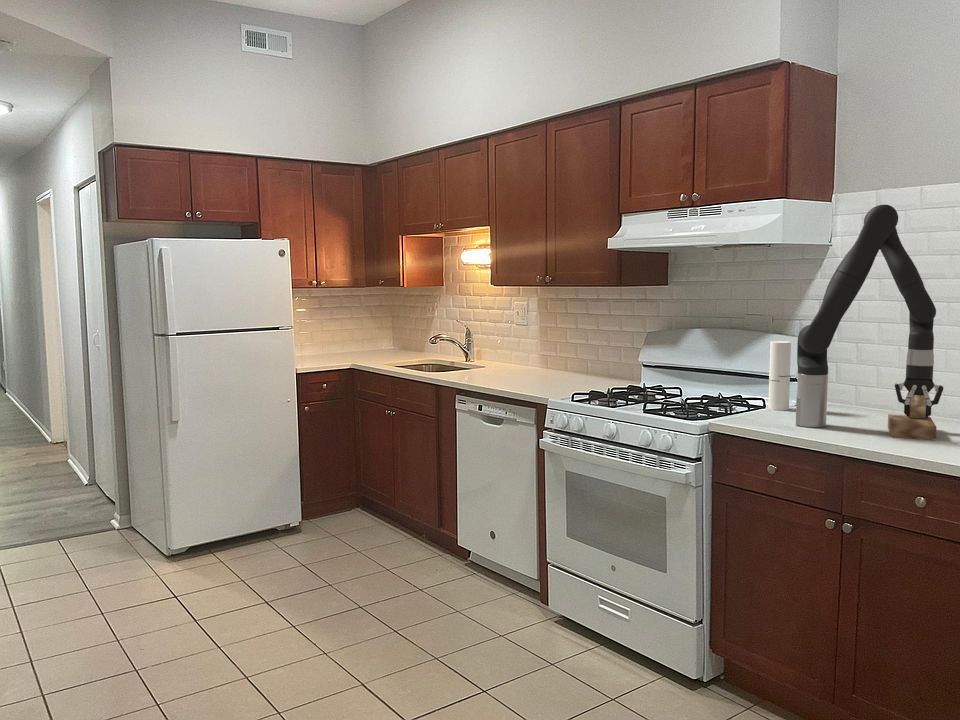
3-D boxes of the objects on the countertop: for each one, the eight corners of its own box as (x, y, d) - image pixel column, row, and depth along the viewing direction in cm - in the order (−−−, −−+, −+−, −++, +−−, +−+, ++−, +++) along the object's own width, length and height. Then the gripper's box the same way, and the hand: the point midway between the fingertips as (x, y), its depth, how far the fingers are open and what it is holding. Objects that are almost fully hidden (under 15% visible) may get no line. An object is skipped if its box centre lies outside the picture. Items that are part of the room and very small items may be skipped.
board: (890, 436, 241) (891, 423, 241) (887, 426, 257) (888, 414, 257) (935, 439, 236) (936, 426, 236) (929, 429, 252) (930, 416, 252)
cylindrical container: (790, 410, 288) (792, 342, 286) (769, 410, 290) (772, 342, 287) (786, 407, 295) (789, 341, 293) (766, 406, 297) (769, 341, 294)
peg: (908, 429, 249) (910, 395, 248) (907, 426, 254) (908, 392, 252) (926, 430, 247) (928, 396, 246) (924, 427, 252) (926, 393, 250)
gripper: (944, 363, 249) (941, 416, 250) (893, 361, 254) (891, 413, 256) (947, 365, 242) (944, 420, 244) (895, 363, 248) (892, 417, 250)
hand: (917, 416), depth 250 cm, fingers closed on peg, 4 cm apart
